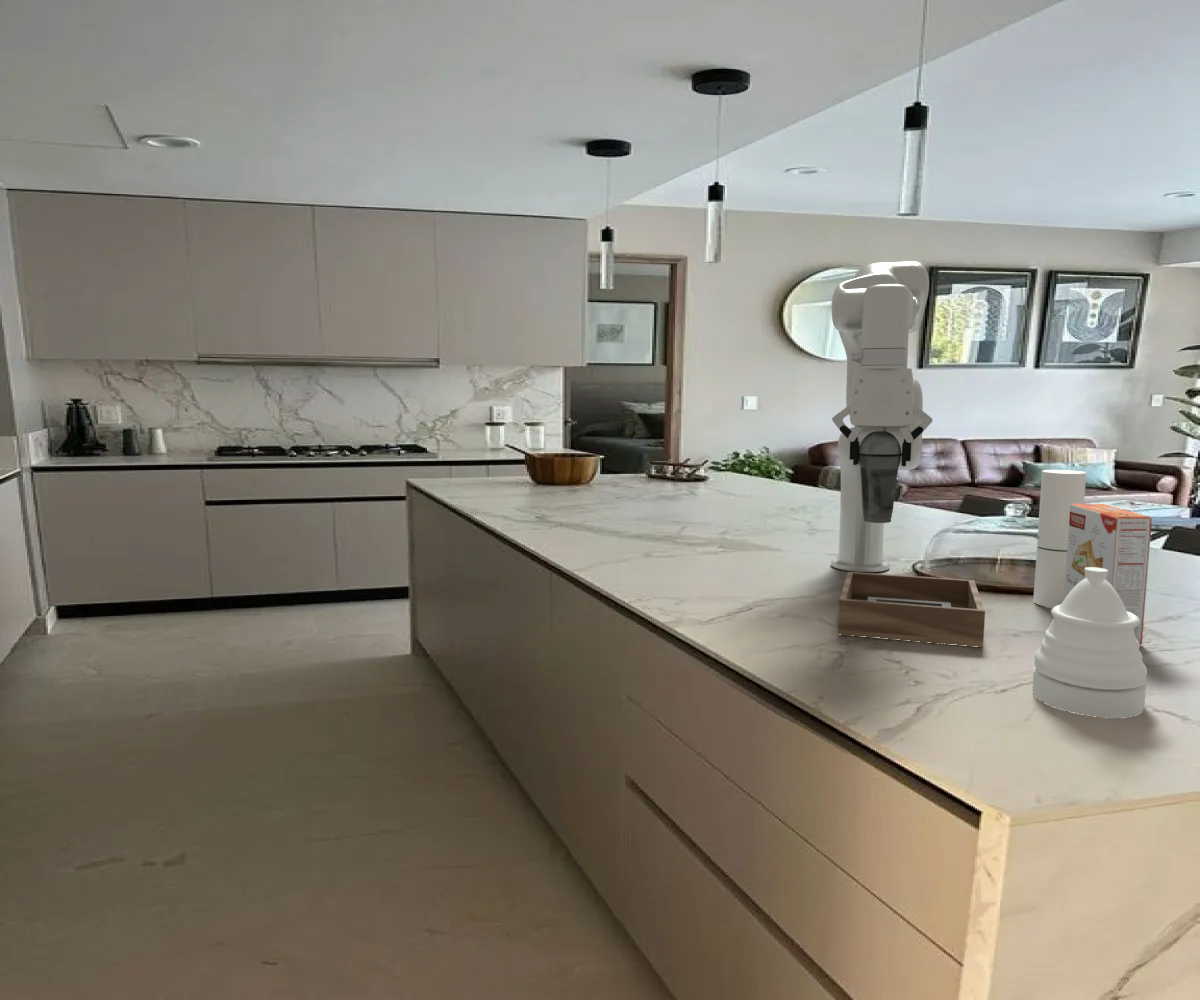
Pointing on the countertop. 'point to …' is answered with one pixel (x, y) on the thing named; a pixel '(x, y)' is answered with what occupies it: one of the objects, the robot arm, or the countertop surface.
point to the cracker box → (1111, 552)
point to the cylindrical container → (1055, 533)
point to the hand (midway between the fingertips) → (879, 464)
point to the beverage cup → (879, 475)
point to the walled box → (912, 608)
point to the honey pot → (1091, 653)
